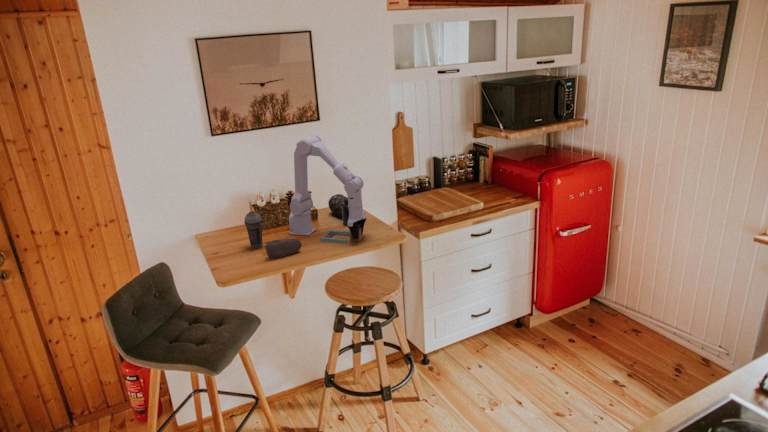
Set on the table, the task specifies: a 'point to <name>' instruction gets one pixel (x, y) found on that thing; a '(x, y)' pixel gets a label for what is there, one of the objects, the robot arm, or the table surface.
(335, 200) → the pine cone
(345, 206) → the supplement bottle
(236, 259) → the table surface
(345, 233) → the channel
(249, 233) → the beverage cup
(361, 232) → the walnut block
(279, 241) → the perforated stone tool
